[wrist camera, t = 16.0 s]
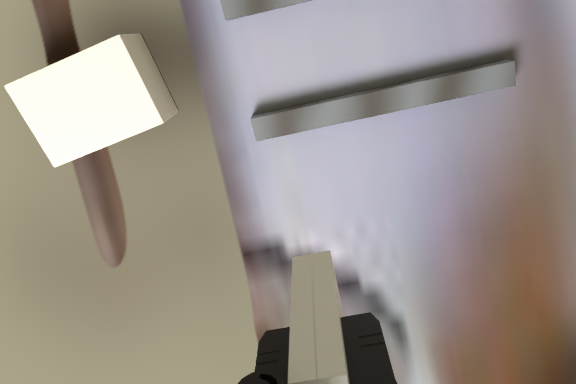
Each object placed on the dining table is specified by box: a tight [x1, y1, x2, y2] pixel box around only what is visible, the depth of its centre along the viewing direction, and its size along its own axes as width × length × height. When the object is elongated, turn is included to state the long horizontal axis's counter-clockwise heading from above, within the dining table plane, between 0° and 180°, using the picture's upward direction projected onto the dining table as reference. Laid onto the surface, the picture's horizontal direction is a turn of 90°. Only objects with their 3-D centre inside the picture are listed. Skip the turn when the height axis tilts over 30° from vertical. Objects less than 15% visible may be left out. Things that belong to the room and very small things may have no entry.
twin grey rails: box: [220, 0, 516, 141], centre depth 35 cm, size 22×12×2 cm, turn 103°
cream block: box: [4, 33, 179, 168], centre depth 36 cm, size 10×7×5 cm
